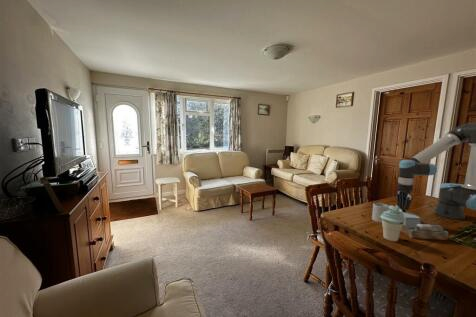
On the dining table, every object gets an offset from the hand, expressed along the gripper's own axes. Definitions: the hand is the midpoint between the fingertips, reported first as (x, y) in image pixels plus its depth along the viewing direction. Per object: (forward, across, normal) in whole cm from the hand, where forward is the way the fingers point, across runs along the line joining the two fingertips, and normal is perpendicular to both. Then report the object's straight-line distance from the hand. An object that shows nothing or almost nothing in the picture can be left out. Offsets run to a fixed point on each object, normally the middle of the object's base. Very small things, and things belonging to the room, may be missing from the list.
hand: (401, 218), depth 133 cm
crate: (+2, +6, 0) cm, 7 cm away
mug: (+2, -1, -12) cm, 13 cm away
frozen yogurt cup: (+2, +25, -20) cm, 33 cm away
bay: (+2, +12, 0) cm, 12 cm away
